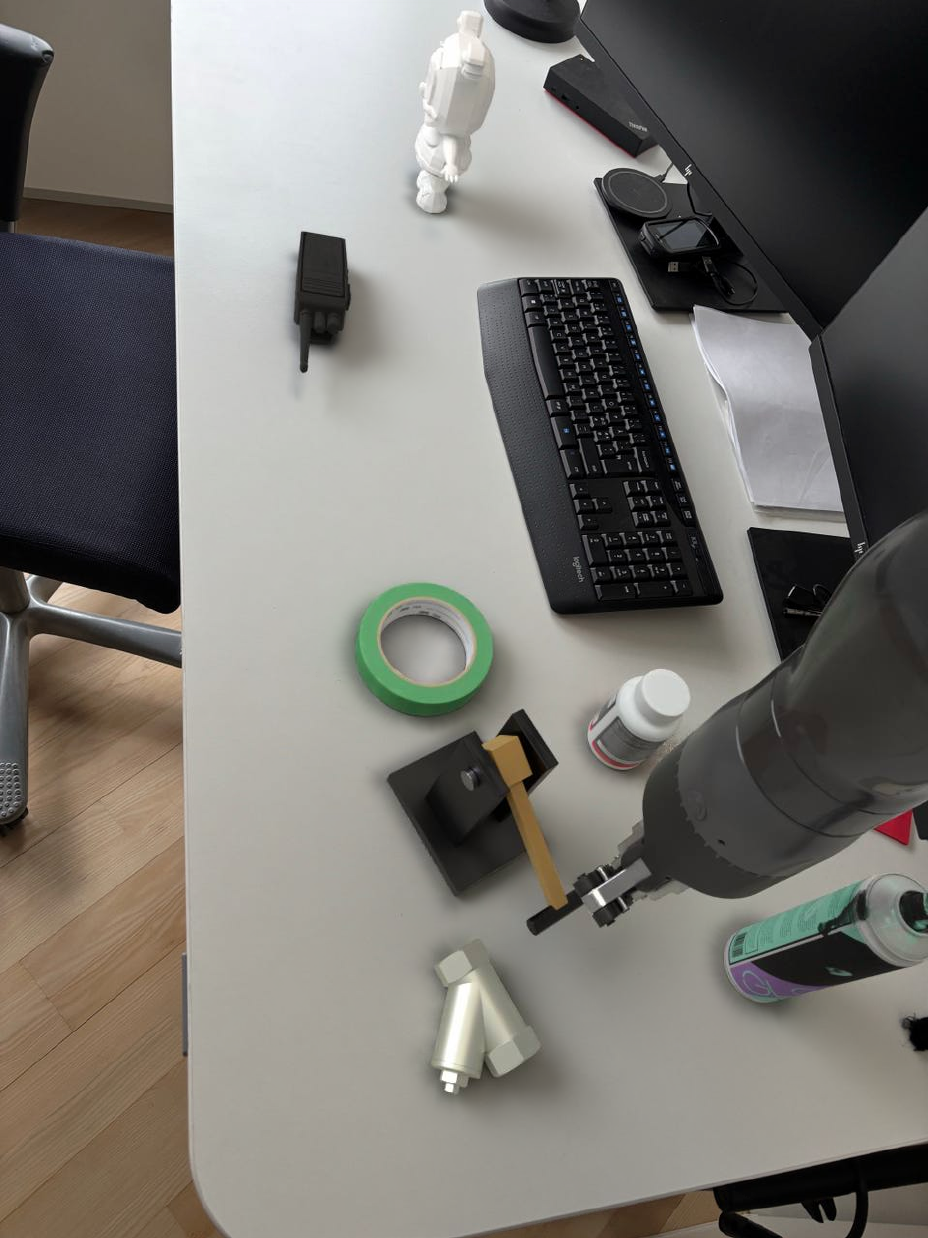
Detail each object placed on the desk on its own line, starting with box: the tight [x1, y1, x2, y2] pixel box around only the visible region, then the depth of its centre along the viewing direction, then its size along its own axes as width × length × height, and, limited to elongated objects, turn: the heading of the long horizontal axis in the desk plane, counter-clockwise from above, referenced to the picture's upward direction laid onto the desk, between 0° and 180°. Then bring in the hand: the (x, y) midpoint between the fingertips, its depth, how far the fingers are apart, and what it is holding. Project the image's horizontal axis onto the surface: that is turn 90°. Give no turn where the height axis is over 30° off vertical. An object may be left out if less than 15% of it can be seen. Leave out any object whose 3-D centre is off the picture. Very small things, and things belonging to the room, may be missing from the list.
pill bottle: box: [587, 668, 692, 771], centre depth 73 cm, size 5×5×10 cm
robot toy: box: [414, 9, 496, 214], centre depth 98 cm, size 8×20×19 cm, turn 2°
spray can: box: [723, 871, 928, 1004], centre depth 62 cm, size 6×6×20 cm
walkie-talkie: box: [293, 230, 352, 374], centre depth 89 cm, size 6×6×20 cm
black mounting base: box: [386, 708, 559, 896], centre depth 65 cm, size 10×8×13 cm
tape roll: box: [354, 582, 494, 717], centre depth 75 cm, size 11×11×3 cm
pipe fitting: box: [430, 938, 542, 1095], centre depth 61 cm, size 8×4×7 cm
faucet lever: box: [482, 735, 585, 937], centre depth 62 cm, size 13×5×2 cm, turn 33°
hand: (613, 888), depth 55 cm, fingers closed
